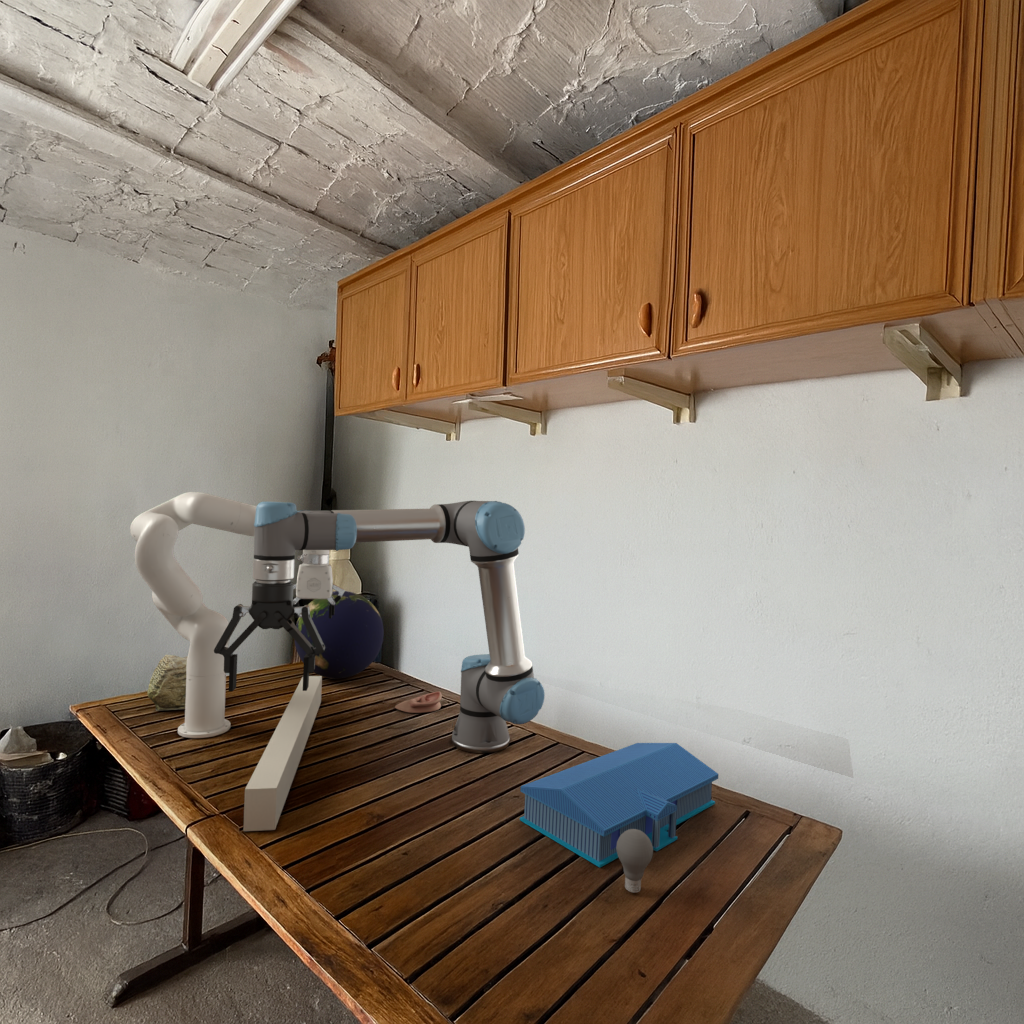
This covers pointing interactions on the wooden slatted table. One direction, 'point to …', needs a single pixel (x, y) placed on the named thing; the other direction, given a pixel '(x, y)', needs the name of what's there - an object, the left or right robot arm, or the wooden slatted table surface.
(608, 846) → the model building
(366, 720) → the wooden slatted table surface
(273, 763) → the post
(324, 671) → the globe
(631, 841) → the light bulb
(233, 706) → the wooden slatted table surface
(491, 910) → the wooden slatted table surface
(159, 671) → the fossil
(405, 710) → the anatomical model
